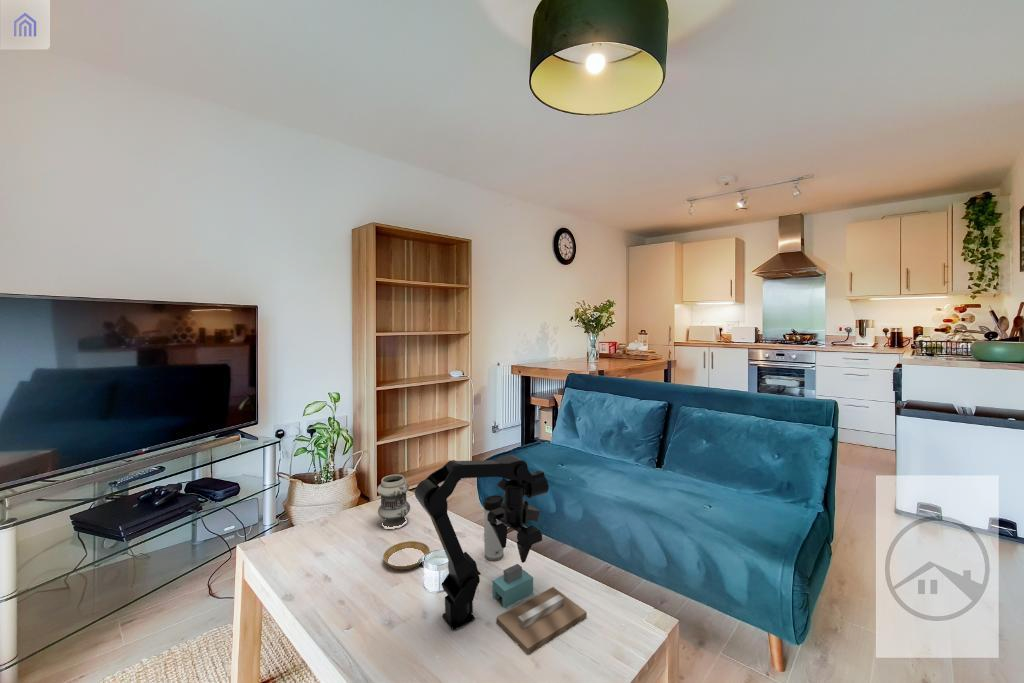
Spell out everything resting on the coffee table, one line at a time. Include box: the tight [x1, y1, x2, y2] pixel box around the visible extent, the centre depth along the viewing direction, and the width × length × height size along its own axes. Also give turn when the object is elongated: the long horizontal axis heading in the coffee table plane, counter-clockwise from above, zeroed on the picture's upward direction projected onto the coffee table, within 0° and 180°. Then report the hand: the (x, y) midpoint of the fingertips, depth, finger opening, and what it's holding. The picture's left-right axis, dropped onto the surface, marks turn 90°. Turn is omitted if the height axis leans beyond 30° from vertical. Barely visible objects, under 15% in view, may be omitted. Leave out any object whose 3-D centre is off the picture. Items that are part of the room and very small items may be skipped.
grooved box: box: [492, 563, 534, 609], centre depth 120 cm, size 10×6×8 cm, turn 127°
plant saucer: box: [383, 540, 430, 570], centre depth 138 cm, size 15×15×3 cm
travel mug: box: [483, 494, 504, 562], centre depth 139 cm, size 6×7×20 cm
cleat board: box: [495, 586, 588, 655], centre depth 110 cm, size 20×13×4 cm, turn 127°
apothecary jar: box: [376, 473, 411, 527], centre depth 162 cm, size 12×12×18 cm
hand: (513, 554), depth 120 cm, fingers open, 9 cm apart
